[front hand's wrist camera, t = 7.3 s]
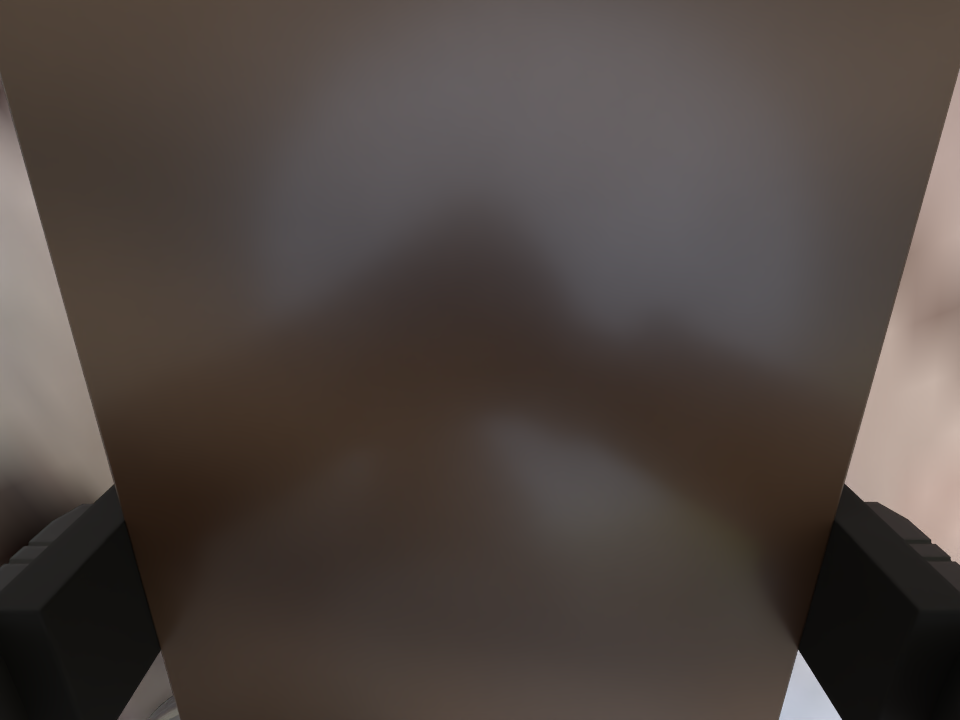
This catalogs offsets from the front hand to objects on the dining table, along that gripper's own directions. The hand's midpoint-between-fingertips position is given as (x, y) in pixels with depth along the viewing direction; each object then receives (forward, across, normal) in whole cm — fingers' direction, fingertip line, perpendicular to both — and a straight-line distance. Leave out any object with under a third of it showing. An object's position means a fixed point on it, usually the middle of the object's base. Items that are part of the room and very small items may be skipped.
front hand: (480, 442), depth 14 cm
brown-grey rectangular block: (+6, 0, -6) cm, 8 cm away
